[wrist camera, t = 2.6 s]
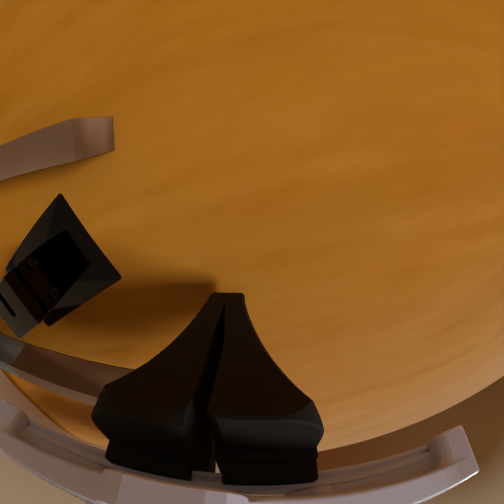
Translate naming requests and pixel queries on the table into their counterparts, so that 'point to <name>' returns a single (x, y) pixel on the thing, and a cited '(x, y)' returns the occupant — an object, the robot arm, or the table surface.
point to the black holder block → (53, 271)
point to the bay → (27, 160)
